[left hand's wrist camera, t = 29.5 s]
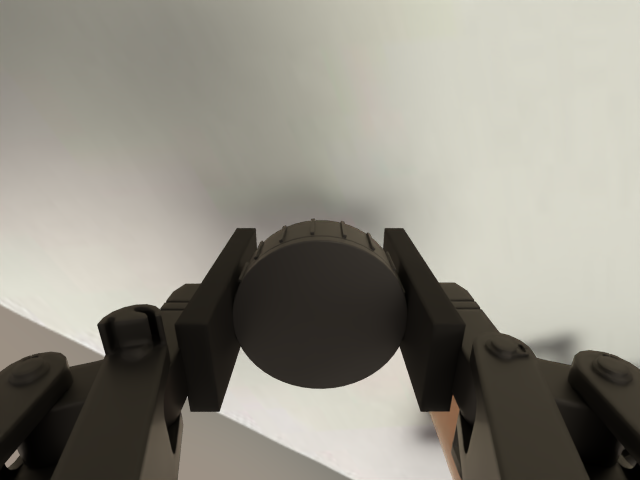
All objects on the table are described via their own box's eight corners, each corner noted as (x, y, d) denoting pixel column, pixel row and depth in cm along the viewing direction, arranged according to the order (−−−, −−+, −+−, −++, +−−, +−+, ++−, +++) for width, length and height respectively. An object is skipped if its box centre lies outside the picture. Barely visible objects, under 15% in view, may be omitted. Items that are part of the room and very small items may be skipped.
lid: (430, 274, 12) (448, 302, 10) (335, 376, 13) (338, 414, 12) (299, 184, 11) (295, 200, 9) (214, 308, 12) (197, 340, 11)
